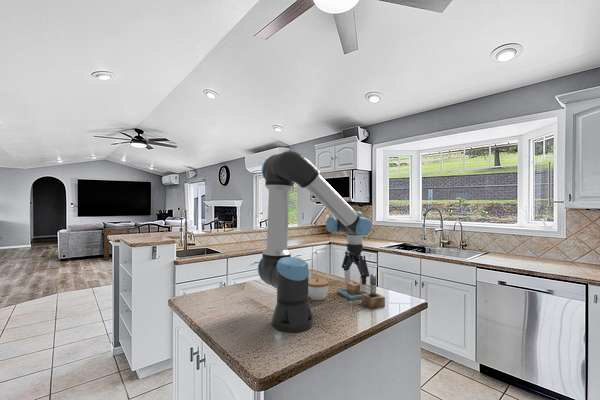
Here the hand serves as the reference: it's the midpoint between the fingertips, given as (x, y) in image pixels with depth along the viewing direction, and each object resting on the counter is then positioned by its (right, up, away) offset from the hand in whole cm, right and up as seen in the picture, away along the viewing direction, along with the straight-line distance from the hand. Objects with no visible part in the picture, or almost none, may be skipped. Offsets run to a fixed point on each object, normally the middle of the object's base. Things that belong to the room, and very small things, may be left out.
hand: (354, 287), depth 141 cm
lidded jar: (-18, -4, -5) cm, 20 cm away
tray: (0, -4, 0) cm, 4 cm away
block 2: (+6, -4, -13) cm, 15 cm away
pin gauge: (+6, -4, -13) cm, 15 cm away
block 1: (0, -3, 0) cm, 3 cm away
